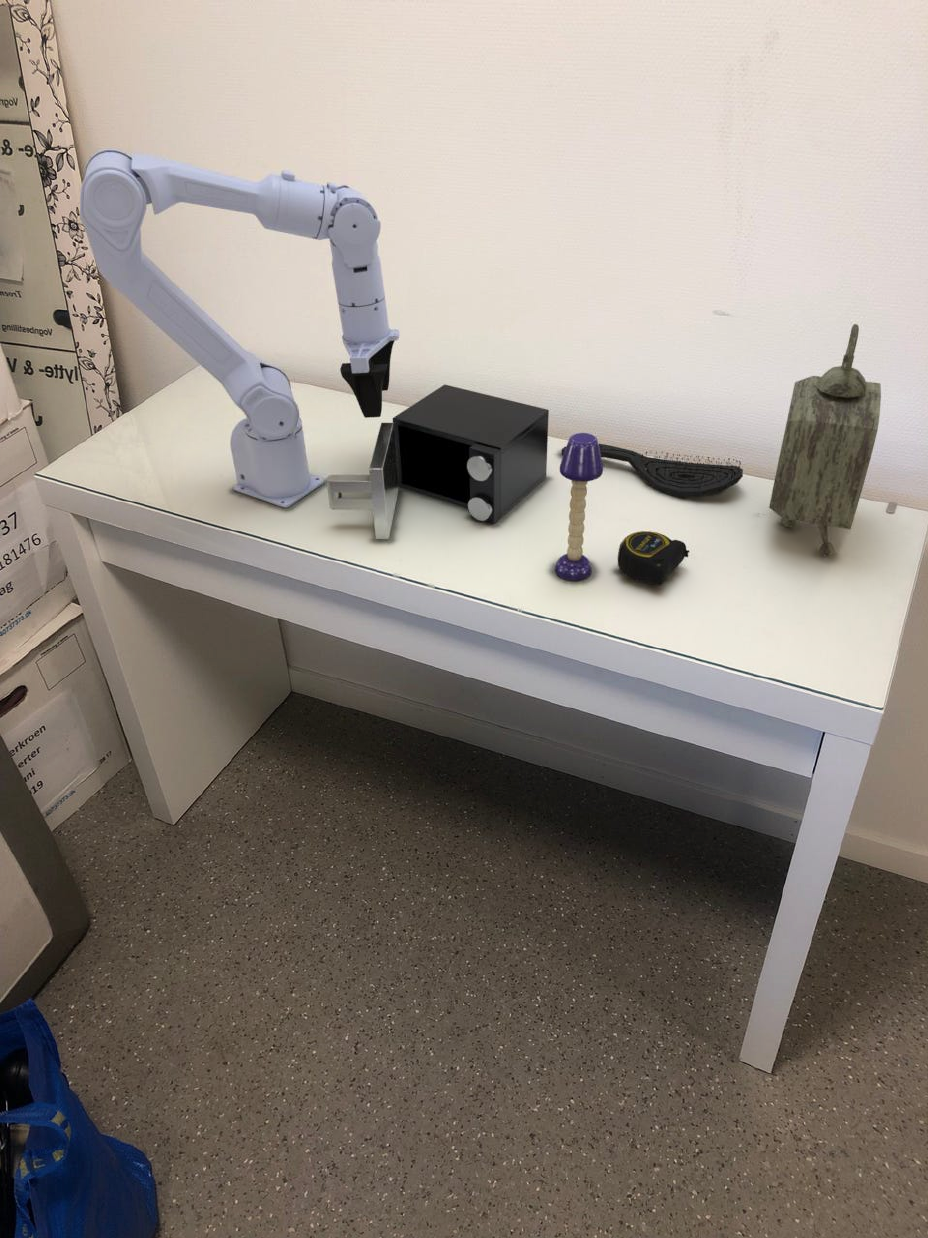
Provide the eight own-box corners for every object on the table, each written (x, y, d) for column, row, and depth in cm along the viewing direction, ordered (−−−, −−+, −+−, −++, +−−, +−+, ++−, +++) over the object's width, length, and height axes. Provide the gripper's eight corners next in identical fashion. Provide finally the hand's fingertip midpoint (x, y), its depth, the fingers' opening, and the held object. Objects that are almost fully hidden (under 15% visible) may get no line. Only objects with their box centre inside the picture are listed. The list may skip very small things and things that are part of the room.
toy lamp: (553, 557, 108) (559, 428, 98) (593, 557, 108) (603, 427, 98) (555, 581, 105) (562, 449, 94) (596, 581, 104) (607, 448, 94)
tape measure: (659, 596, 102) (663, 568, 100) (605, 575, 105) (607, 548, 103) (687, 567, 106) (691, 540, 104) (634, 548, 109) (637, 522, 107)
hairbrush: (575, 422, 130) (752, 453, 119) (575, 446, 132) (748, 478, 121) (549, 447, 124) (732, 481, 113) (550, 471, 126) (729, 507, 116)
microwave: (490, 528, 114) (490, 455, 108) (386, 495, 121) (380, 425, 115) (546, 478, 123) (548, 409, 117) (447, 450, 130) (444, 383, 124)
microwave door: (328, 539, 112) (319, 468, 106) (343, 489, 122) (335, 422, 116) (388, 539, 112) (382, 469, 106) (398, 489, 122) (393, 422, 116)
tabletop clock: (840, 567, 105) (898, 357, 90) (759, 553, 108) (802, 347, 93) (845, 505, 116) (898, 308, 101) (771, 494, 119) (811, 300, 103)
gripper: (386, 319, 105) (400, 427, 113) (400, 275, 116) (412, 377, 124) (325, 322, 105) (344, 429, 114) (345, 279, 117) (361, 379, 125)
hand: (376, 402), depth 119 cm, fingers open, 7 cm apart
